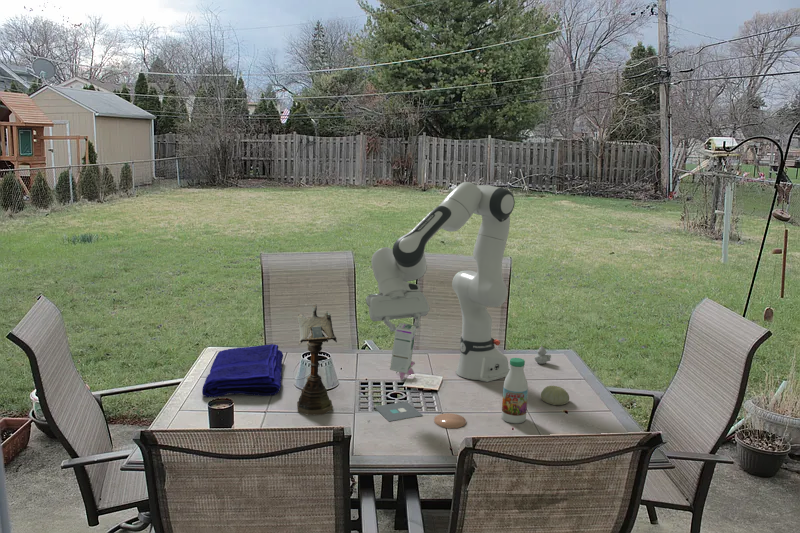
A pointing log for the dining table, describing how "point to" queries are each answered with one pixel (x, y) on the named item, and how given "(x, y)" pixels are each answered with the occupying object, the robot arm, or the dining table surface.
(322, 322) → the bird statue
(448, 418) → the coaster
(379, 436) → the dining table surface
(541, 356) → the grey figurine
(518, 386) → the milk bottle
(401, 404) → the tile
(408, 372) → the lily
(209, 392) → the towel
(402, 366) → the syrup box
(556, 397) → the sea urchin shell
